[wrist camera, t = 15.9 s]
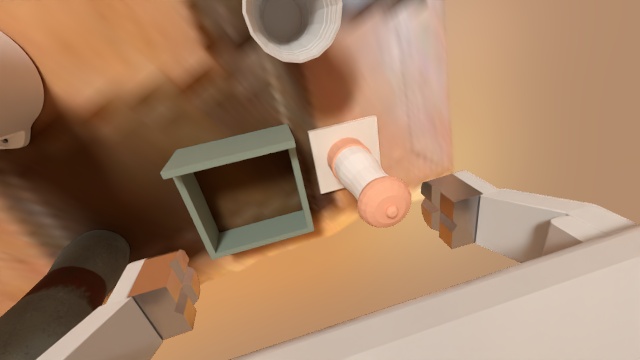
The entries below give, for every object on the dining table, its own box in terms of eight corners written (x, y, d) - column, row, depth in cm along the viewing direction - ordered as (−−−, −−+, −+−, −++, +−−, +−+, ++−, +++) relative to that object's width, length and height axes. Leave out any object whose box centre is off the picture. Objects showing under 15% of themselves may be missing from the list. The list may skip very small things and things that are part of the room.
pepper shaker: (374, 150, 51) (433, 202, 34) (350, 182, 53) (395, 247, 36) (343, 129, 48) (391, 175, 31) (318, 163, 50) (352, 224, 33)
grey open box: (215, 238, 53) (209, 272, 45) (176, 149, 45) (160, 172, 37) (308, 212, 55) (318, 241, 47) (287, 123, 47) (294, 140, 39)
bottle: (146, 255, 52) (33, 477, 25) (100, 277, 52) (-60, 522, 25) (108, 217, 47) (-76, 438, 21) (58, 241, 47) (-190, 493, 21)
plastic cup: (333, 34, 43) (360, 32, 32) (272, 72, 43) (278, 81, 32) (297, -47, 37) (314, -83, 27) (227, -3, 38) (218, -22, 27)
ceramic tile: (319, 191, 54) (321, 193, 53) (307, 131, 48) (308, 132, 47) (379, 175, 55) (381, 177, 54) (374, 114, 49) (376, 116, 48)
